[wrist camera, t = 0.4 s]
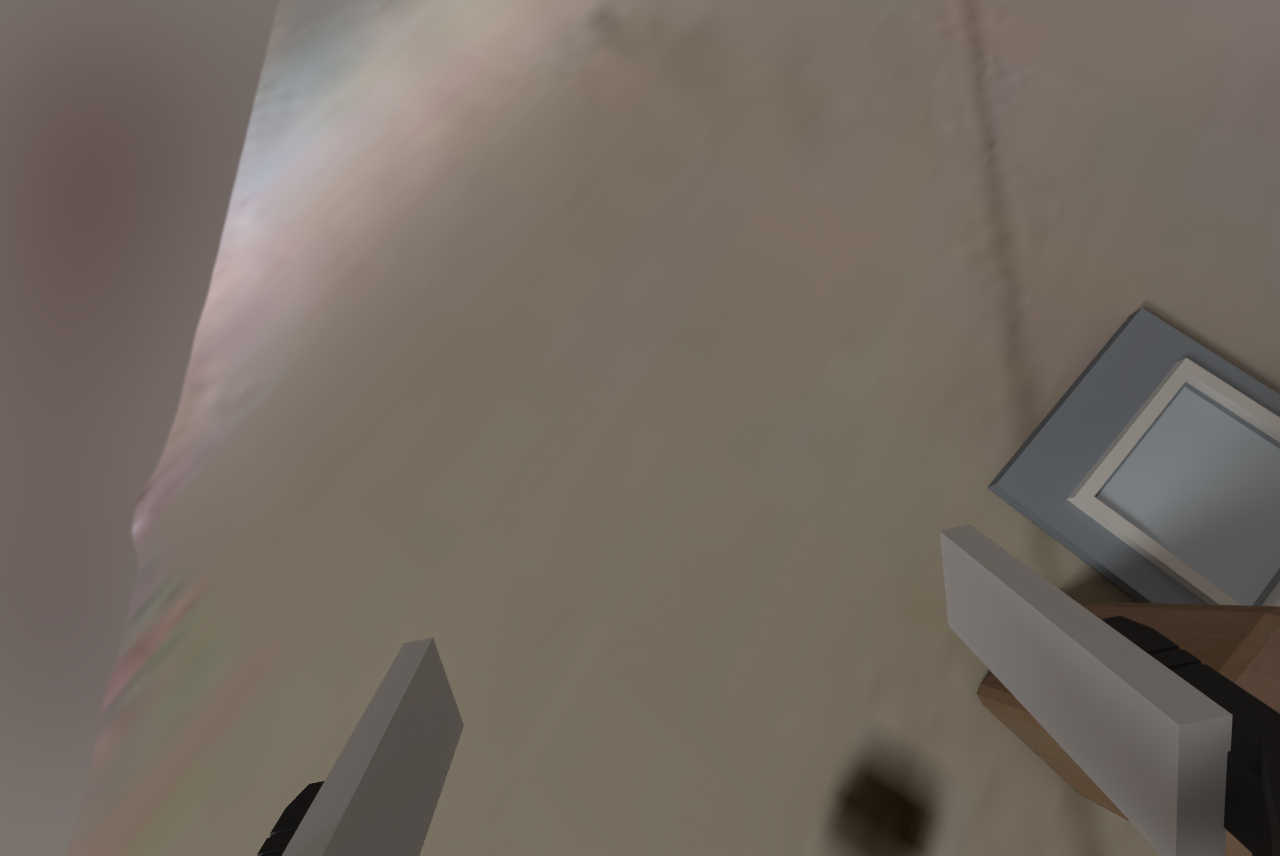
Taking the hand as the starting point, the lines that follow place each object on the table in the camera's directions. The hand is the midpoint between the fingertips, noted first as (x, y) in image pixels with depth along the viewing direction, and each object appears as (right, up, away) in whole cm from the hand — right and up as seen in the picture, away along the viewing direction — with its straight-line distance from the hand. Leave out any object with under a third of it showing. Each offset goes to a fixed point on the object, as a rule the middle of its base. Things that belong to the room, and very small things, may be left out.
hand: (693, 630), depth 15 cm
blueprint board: (+42, 0, +32) cm, 53 cm away
